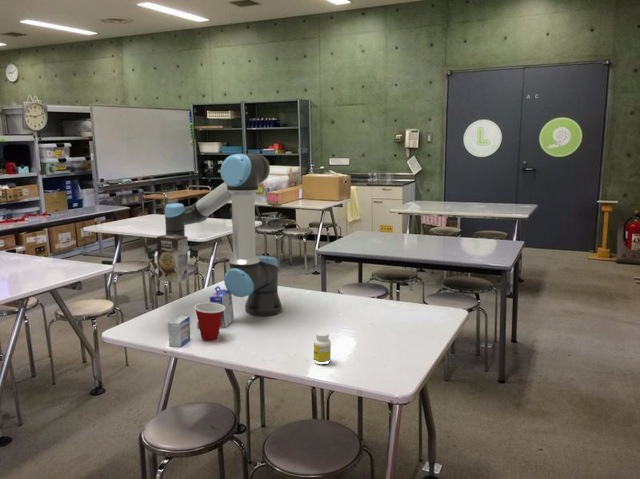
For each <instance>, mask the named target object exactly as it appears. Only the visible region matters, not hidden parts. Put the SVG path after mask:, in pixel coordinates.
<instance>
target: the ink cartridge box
mask: <svg viewBox="0 0 640 479" xmlns="http://www.w3.org/2000/svg"><path fill="white" fill-rule="evenodd" d="M214 290H215V292H214V293H213V294H212V295H210V296H209V303H218V304H221V305H223V306H225V310H224V311H223V315H222V319H221V325H220V328H227V327H228V326H229V325H230V324H231V323H232V322H233V321H234V320H235V316H234V315H235V314H234V304H233V295H232V294H231V293H230V291H228V290H227V289H223V288H222V289H221V287H220V286H219V285H217V286H216V287H214Z"/></svg>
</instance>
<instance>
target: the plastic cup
mask: <svg viewBox="0 0 640 479" xmlns="http://www.w3.org/2000/svg"><path fill="white" fill-rule="evenodd" d="M194 310H195V313H196V317H197V322H198V324H199V329H198V330H199V332H200V333H199V334H200V337H201V340H203V341H205V342H212V341H216V340H218V338H219V334H220V329H221V327H220V325H221V319H222V315H223V311H224V310H225V306H223V305H221V304H218V303H210V302H200V303H197V304H195V305H194Z"/></svg>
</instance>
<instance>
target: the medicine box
mask: <svg viewBox="0 0 640 479" xmlns="http://www.w3.org/2000/svg"><path fill="white" fill-rule="evenodd" d="M167 328H168V330H167V332H168V346H169V347H172V348H173V347H175V348H181V347H183V346H184V345H185V344H186V343H187V342H189V341H190V340H191V318H190V316H189V315H178V316H176V317H175V318H173V319H172V320H170V321H169V322H168V323H167Z"/></svg>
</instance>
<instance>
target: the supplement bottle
mask: <svg viewBox="0 0 640 479" xmlns="http://www.w3.org/2000/svg"><path fill="white" fill-rule="evenodd" d="M329 336H330V334H329V332H327V331H323V330H321V331H317V332H316V334H315V340H314V341H313V361H314V360H316V361H318V362H326V361H329V360H330V361H331V355H332V354H331V353H332V352H331V350H332V349H331V347H332V346H331V345H332V344H331V343H332V342H331V340H330V339H329Z"/></svg>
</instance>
